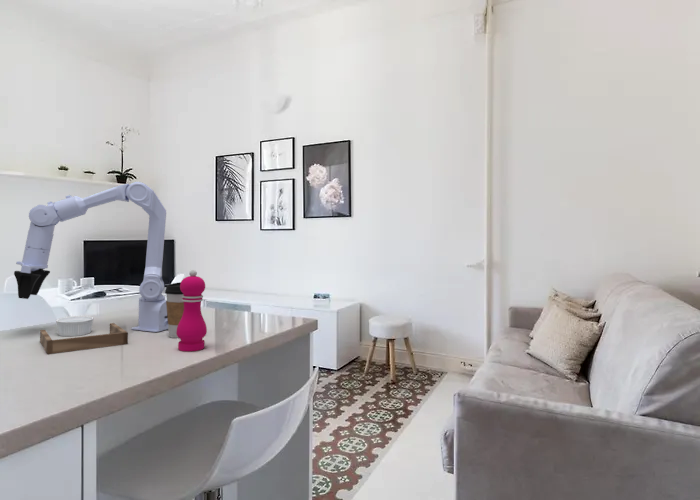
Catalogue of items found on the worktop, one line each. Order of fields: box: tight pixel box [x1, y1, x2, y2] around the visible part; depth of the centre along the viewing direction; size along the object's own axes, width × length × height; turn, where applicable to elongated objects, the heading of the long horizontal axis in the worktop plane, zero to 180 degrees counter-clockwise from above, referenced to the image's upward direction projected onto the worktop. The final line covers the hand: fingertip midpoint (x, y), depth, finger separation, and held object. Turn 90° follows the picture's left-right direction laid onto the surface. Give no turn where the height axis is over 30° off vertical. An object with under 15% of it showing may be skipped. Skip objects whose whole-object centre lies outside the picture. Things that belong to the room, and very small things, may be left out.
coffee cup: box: [164, 281, 184, 339], centre depth 119 cm, size 8×8×15 cm
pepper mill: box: [176, 269, 208, 352], centre depth 106 cm, size 7×7×20 cm
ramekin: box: [55, 315, 94, 337], centre depth 118 cm, size 9×9×4 cm
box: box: [39, 322, 129, 355], centre depth 108 cm, size 15×17×3 cm
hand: (27, 296), depth 116 cm, fingers open, 7 cm apart
